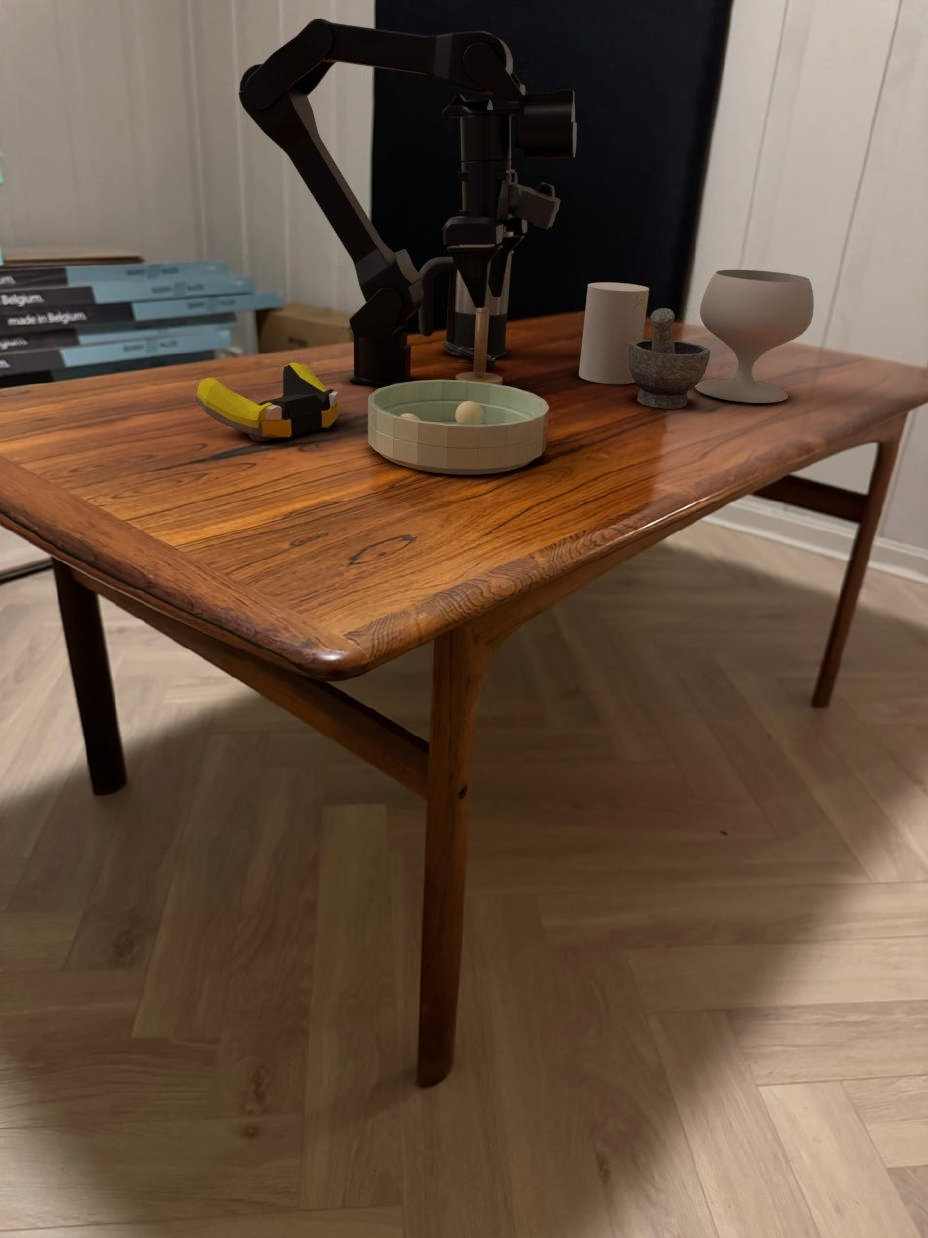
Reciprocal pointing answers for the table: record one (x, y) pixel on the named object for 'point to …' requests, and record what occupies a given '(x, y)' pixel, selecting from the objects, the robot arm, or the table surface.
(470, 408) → the dumpling
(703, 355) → the mortar and pestle
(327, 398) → the gaming controller
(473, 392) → the bowl
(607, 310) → the tall cream tube
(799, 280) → the chalice
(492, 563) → the table surface
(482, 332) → the stirrer
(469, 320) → the milk frother
